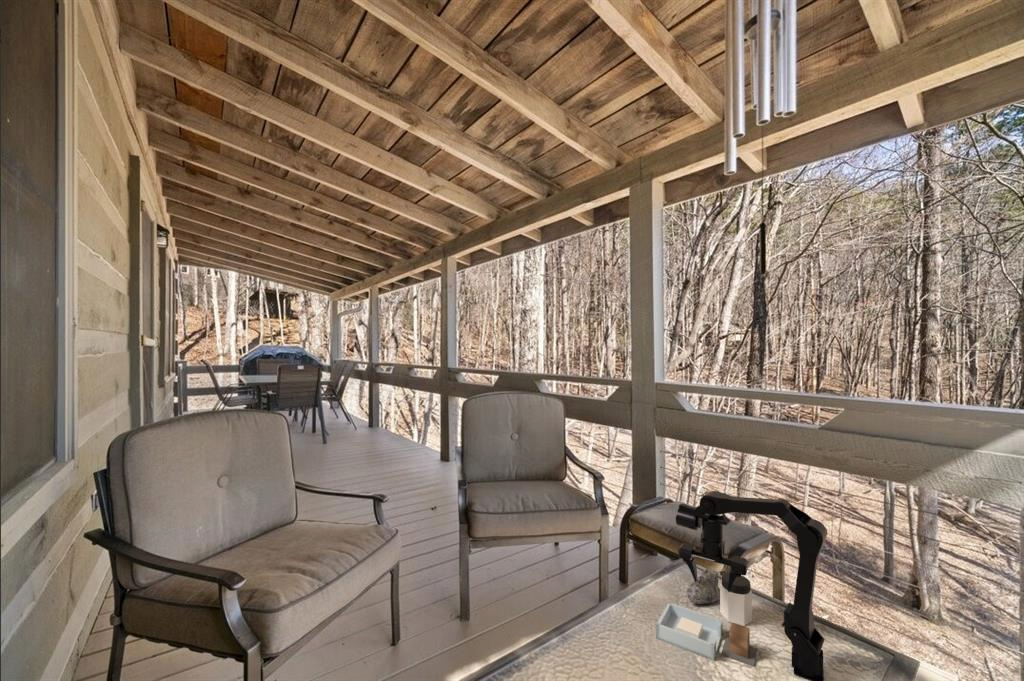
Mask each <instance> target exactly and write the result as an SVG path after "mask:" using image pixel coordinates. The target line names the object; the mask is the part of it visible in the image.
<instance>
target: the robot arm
mask: <svg viewBox="0 0 1024 681" xmlns="http://www.w3.org/2000/svg"><path fill="white" fill-rule="evenodd" d="M730 513H739V514H750V515H752V514H753V515H762V516H763V515H764V516H765V515H766V516H774V517H778V519H779V520H781V521H782V522H783V523H784V525H785V526H786V527H787V529H788V530H789V531H790V532H792V534H794V535H795V536H796V544H797V549H798V554H799V558H798V559H799V560H798V566H797V567H798V568H797V575H796V582H795V591H794V596H793V597H794V598H793V603H791V602H788V603H787V605H786V607H785V609H784V610H783V621H782V624H781V626H782V627H784V628H783V629H784V634H785V636H786V637H787V639H788V640H789V641H790V643H791V644H792V645H791V667H792V668H793V675H795V676H798V677H800V678H802V679H806V680H809V681H825V672H824V671H825V670H824V651H823V649H822V648H823V646H824V642H825V640H826V639H825V637H824V636H823V635H822V634H821V633H820V632H819V630H818V629H817V628H816V626H815V616H814V612H813V599H814V590H815V583H816V577H817V576H816V575H817V568H818V561H819V556H820V555H821V551H822V550H823V547H824V544H825V542H826V539H827V536H828V529H827V527H826V526H825V525H824V524H823V522H821V521H820V520H817V519H815V518H813V517H811V515H809V514H807V512H805V511H803V510H801V509H800V508H798V507H796V506H795V505H793V504H792V503H790V502H789V501H788V500H786V499H784V498H778V499H777V498H776V499H775V498H763V497H760V498H759V497H743V496H733V495H731V494H728V493H725V492H722V491H716V490H711V491H709V492H707V493H705V494H704V495H703V496H702V497H701V498H700V500H699V505H698V506H696V507H695V506H691V505H688V504H685V503H680V504H678V509H677V512H676V516H675V523H676V525H677V526H680V527H683V528H685V529H690V530H694V531H697V530H698V529H701V531H702V532H701V533H700V544H701V550H697V549H696V545H693V544H690V543H686V542H683V543H682V544H681V545H680V546H679V548H678V552H677V554H678V555H677V556H678V558H680V559H682V562H684V563H686V566H687V567H688V569H689V570H690V571H689V572H690V573H691V575H692V577H693V581H694V580H695V582H697V578H698V568H697V558H699V559H702V560H706V561H709V562H714V563H718V564H721V565H725V566H729V567H730V570H729V573H730V574H729V583H728V592H730V590H731V587H732V585H733V582H734V581H735V579H736V577H741V575H742V576H747V573H748V570H749V560H748V559H747V558H745V557H741V556H737V555H733V556H732V558H727V557H725V553H726V552H725V550H726V540H724V532H723V531H724V526H727V525H729V524H730V523H731V520H730V519H729V518H728V517H727V516H726V514H730Z"/></svg>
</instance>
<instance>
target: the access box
mask: <svg viewBox="0 0 1024 681" xmlns="http://www.w3.org/2000/svg"><path fill="white" fill-rule="evenodd" d="M655 626H656V627H655V632H656V633H655V634H656V635H655V636H656V637H655V638H656V639H657V640H660V641H662V642H665V643H667V644H670V645H673V646H675V647H678V648H680V649H683V650H685V651H687V652H691V653H692V654H696V655H698V656H701V657H703V658H706V659H709V660H711V661H715V660H716V656H717V654H718V651H719V647H720V643H721V639H722V636H723V620H722V619H720V618H717V617H714V616H711V615H708V614H705V613H703V612H699V611H697V610H694V609H691V608H687V607H684V606H682V605H679V604H675V603H673V602H668V603H667V605H666V606H665V608H664V610H663V612H662V614H661V616H660V617H659V619H658V621H657V623H656V624H655Z"/></svg>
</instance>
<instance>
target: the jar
mask: <svg viewBox="0 0 1024 681" xmlns="http://www.w3.org/2000/svg"><path fill="white" fill-rule="evenodd" d="M729 574H730V572H725V573H722V575H721V583H720V584H719V589H720V599H719V601H720V602H719V612H720V614H721V615H722V616H723V618H724V619H725V620H726V621H727V623H730V624H731V623H732V622H733V623H736V624H739V625H742V626H745V627H746V626H747V625H748V624H750V623H751V622H752V621H753V591H752V590H751V589H752V586H751V581H750V580H749V579H748V578H747V577H745V575H741V577H736V579H735V581H734V582H733V585H732V587H731V590H730V592H728V583H729Z"/></svg>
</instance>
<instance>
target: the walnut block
mask: <svg viewBox="0 0 1024 681" xmlns="http://www.w3.org/2000/svg"><path fill="white" fill-rule="evenodd" d="M728 632H729V637H728V638H729V652H731V653H733V654H736V655H739V656H741V657H744V658H747V659H748V655H749V650H750V646H751V644H750V642H751V640H750V638H751V637H750V635H751V633H750V632H751V631H750V627H748V626H746V625H745V626H742V625H739V624H736V623H733V622H732V623H730V627H729V631H728Z"/></svg>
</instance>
